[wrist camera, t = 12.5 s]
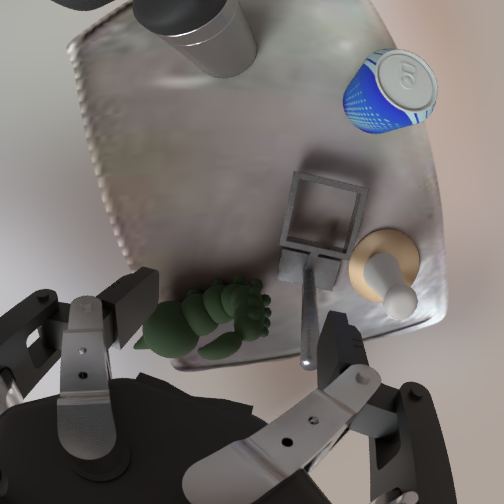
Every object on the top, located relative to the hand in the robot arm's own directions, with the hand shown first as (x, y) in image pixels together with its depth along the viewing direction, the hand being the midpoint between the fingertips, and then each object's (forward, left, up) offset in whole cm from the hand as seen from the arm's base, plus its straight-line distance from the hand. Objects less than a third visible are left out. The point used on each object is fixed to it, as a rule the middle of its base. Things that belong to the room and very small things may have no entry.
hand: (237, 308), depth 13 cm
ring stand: (+3, +6, -30) cm, 31 cm away
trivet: (+6, +18, -30) cm, 36 cm away
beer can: (-17, +10, -30) cm, 36 cm away
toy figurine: (+19, -9, -30) cm, 37 cm away
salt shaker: (+6, +17, -30) cm, 35 cm away
